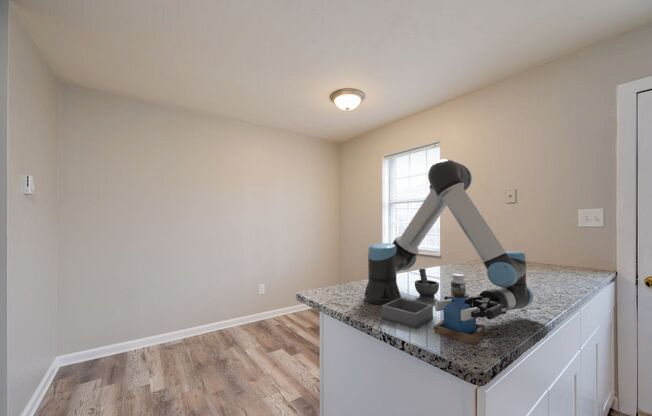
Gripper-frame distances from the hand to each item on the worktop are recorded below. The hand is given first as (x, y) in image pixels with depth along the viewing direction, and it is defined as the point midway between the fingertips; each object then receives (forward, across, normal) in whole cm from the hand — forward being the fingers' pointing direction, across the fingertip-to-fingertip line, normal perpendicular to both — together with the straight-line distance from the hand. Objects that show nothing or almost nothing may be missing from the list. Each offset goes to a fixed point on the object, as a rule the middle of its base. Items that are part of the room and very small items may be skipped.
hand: (448, 310), depth 81 cm
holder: (-5, 0, -7) cm, 9 cm away
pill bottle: (-37, +26, -7) cm, 45 cm away
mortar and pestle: (-24, +32, -7) cm, 40 cm away
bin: (+1, +16, -7) cm, 18 cm away
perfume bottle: (-5, 0, -8) cm, 9 cm away
